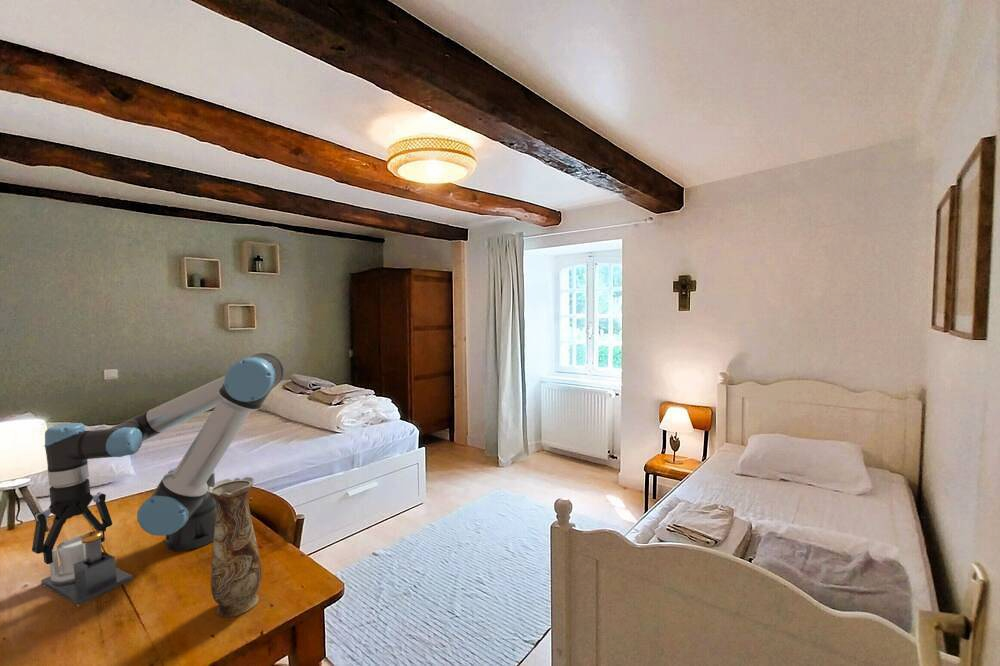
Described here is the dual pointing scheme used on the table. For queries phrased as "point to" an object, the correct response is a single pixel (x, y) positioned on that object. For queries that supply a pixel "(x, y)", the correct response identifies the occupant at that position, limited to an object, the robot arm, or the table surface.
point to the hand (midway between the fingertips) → (77, 563)
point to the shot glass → (71, 553)
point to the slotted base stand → (90, 580)
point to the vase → (234, 549)
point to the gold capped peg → (92, 546)
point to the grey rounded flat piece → (62, 578)
